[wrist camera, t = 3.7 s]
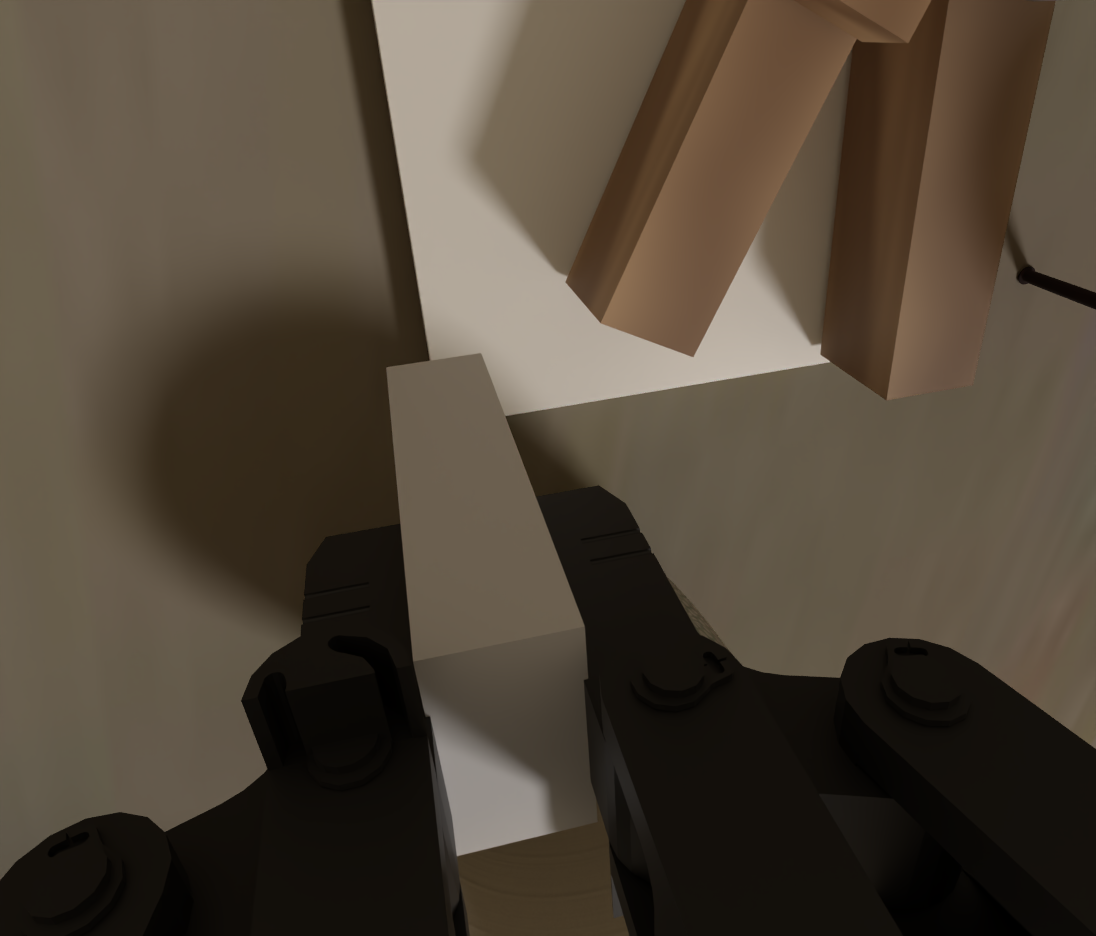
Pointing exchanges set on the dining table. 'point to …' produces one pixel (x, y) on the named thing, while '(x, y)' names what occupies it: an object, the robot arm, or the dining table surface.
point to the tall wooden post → (929, 192)
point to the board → (572, 198)
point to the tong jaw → (715, 155)
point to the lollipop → (1058, 287)
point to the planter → (549, 873)
